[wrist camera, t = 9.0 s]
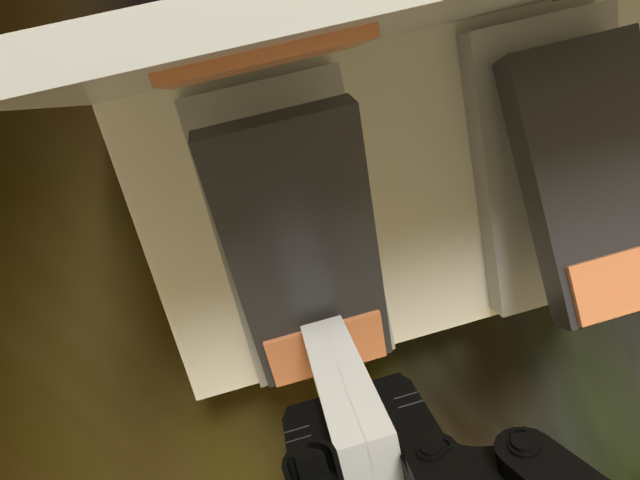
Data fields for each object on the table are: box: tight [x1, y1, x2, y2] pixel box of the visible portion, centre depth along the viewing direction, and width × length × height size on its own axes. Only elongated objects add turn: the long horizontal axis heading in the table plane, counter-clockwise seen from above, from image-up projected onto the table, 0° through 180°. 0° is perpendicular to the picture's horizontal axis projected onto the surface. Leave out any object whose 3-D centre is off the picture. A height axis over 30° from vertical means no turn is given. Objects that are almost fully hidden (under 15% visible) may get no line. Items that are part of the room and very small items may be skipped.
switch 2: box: [492, 23, 640, 331], centre depth 18 cm, size 5×10×1 cm, turn 13°
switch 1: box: [188, 93, 393, 388], centre depth 17 cm, size 5×10×1 cm, turn 13°
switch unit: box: [0, 0, 640, 401], centre depth 18 cm, size 34×14×13 cm, turn 103°
